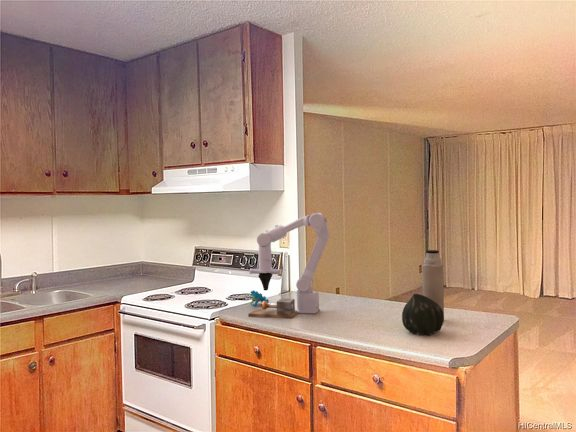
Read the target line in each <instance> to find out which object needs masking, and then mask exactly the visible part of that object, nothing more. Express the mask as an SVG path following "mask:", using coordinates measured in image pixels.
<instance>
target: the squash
mask: <svg viewBox="0 0 576 432" xmlns="http://www.w3.org/2000/svg"><path fill="white" fill-rule="evenodd" d="M401 313H402V314H401V320H402V324H403V327H404V328H405V329H406V330H407V331H408V332H409V333H412V334H418V335H420V336H424V335H427V336H431V335H434V334H435V333H436V332H437V333H438V332H439V331H440V330H441V329H442V327H443V324H444V322H445V313H444V314H443V311H442V308H441V307H440V306H439V305H438V304H437V303H436V302H434V301H433V300H431V299H430V298H428V297H425V296H423V294H419V293H413V295H412V296H411V297H410V299H408V301H407V303H406V304H405V305H404V307H403V309H402V312H401Z"/></svg>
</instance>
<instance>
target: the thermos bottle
mask: <svg viewBox="0 0 576 432" xmlns="http://www.w3.org/2000/svg"><path fill="white" fill-rule="evenodd" d="M439 253H440V251H439V250H437V249H428V250H426V251H425V254H426V255H425V258H424V259H423V263H422V265H421V267H422V268H421V269H422V272H421V273H422V295H423V296H425V297H428V298H430V299H431V300H433V301H434V302H436V303H437V304H438V305H439V306H440V307H441V308H442V311H443V314H444V315H445V303H444V302H445V301H444V299H445V296H444V295H445V294H444V291H445V290H444V289H445V288H444V287H445V285H444V264H442V258H440V254H439Z"/></svg>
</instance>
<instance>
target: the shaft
mask: <svg viewBox="0 0 576 432" xmlns="http://www.w3.org/2000/svg"><path fill="white" fill-rule="evenodd" d="M261 309H263V310H266V309H277V302H276V303H274V302H273V303H272V302H269V303H267V301H263V302H261ZM292 309H293V304H292Z"/></svg>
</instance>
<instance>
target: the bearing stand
mask: <svg viewBox="0 0 576 432" xmlns="http://www.w3.org/2000/svg"><path fill="white" fill-rule="evenodd" d="M295 301H296V299H295V298H285V297H284V298H283V297H282V298H280V299H279V300H277V301H276V303H277V308H276V309H273V308H267V309H266V310H263V309H262V308H255V309H253V310H251V311H249V313H247V314H248V317H250V316H251V318H252V317H254V318H255V317H256V318H272V319H274V318H275V319H276V318H277V319H294V317H295V316H297V314H299V313H298V311H297V309H296V307H295V305H296V304H295V303H296V302H295ZM292 304H293V309H292ZM295 309H296V310H295Z"/></svg>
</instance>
